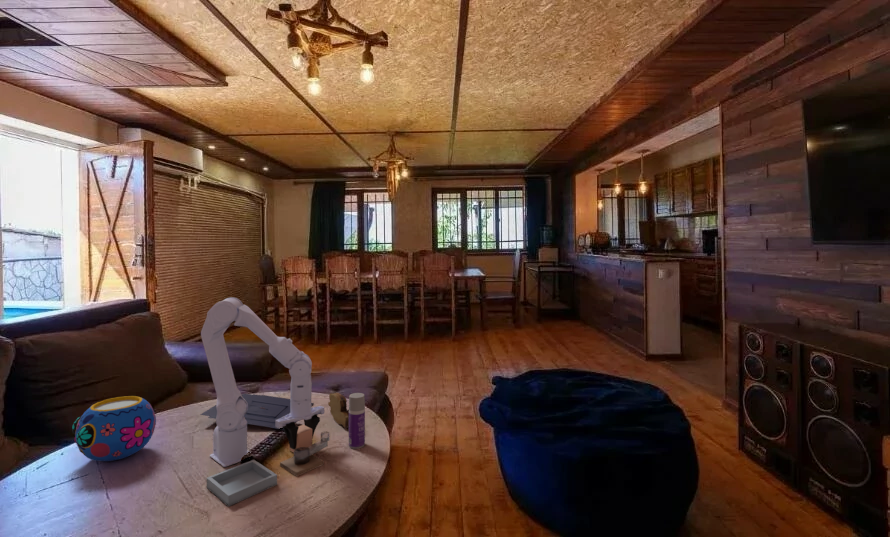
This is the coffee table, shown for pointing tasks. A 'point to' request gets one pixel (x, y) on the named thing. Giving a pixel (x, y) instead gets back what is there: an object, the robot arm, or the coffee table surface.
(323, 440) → the crank
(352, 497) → the coffee table surface
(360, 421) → the container
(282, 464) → the crank base
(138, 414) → the ceramic pot
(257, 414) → the dark grey flat slab
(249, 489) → the tray
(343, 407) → the wooden carving
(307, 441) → the block
